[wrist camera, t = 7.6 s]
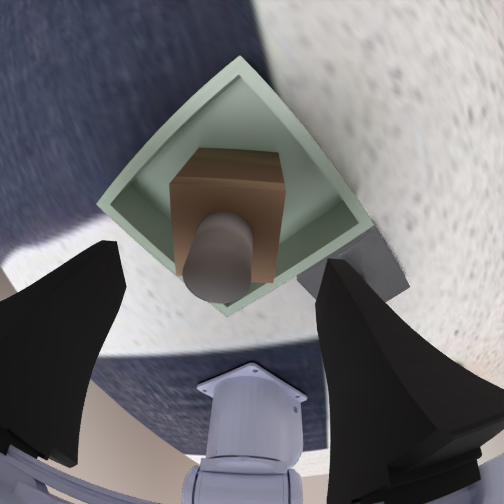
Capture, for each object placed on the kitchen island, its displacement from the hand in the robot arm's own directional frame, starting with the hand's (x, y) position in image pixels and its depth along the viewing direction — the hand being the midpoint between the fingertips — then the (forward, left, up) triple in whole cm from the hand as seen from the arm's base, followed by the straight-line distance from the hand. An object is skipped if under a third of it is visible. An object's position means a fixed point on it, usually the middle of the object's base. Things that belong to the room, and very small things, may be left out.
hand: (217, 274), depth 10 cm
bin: (0, 0, -8) cm, 8 cm away
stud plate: (-10, -2, -8) cm, 13 cm away
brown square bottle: (0, 0, -8) cm, 8 cm away
